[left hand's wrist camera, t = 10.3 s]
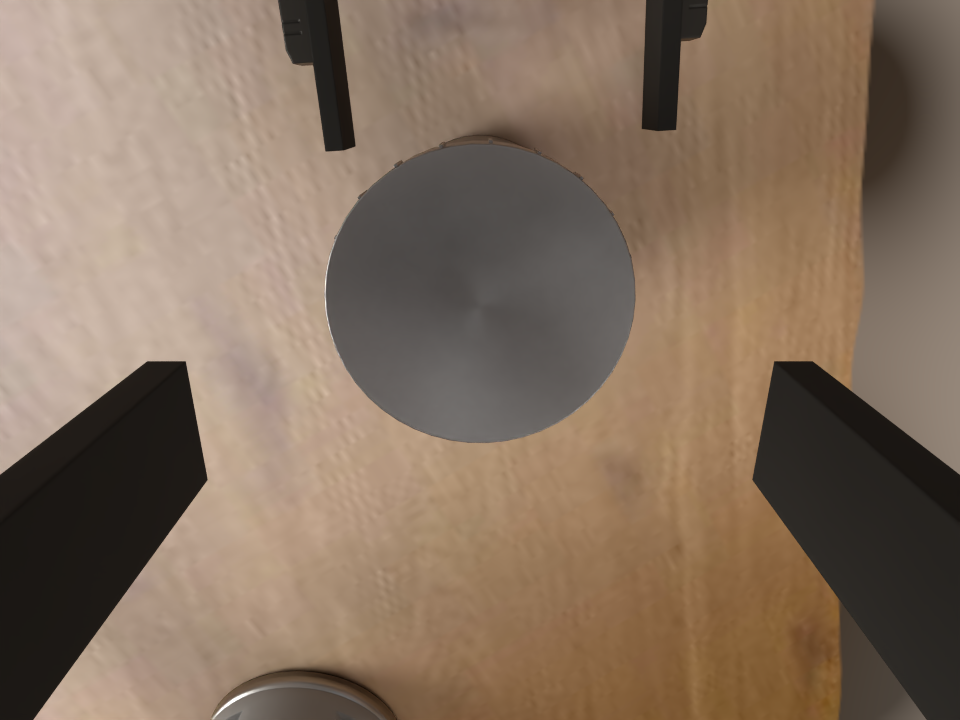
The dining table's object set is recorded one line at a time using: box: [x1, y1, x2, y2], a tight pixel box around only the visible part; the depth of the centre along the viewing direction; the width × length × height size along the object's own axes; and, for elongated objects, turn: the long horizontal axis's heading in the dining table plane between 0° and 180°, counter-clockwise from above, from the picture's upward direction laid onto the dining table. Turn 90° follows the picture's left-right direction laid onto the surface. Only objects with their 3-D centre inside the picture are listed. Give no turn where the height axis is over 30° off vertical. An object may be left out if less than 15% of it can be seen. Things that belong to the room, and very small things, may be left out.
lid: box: [325, 138, 635, 443], centre depth 21 cm, size 10×10×2 cm
